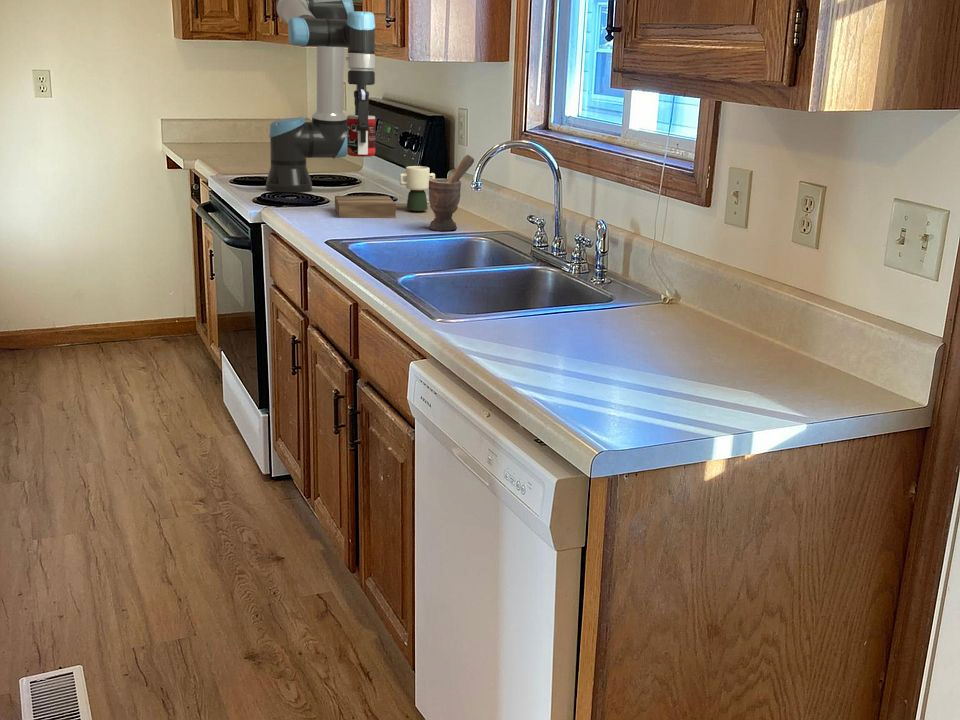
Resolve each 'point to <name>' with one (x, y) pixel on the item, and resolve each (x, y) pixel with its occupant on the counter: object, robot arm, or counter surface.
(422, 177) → the character mug
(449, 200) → the mortar and pestle
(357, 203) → the walnut base
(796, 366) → the counter surface
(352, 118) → the canned food
